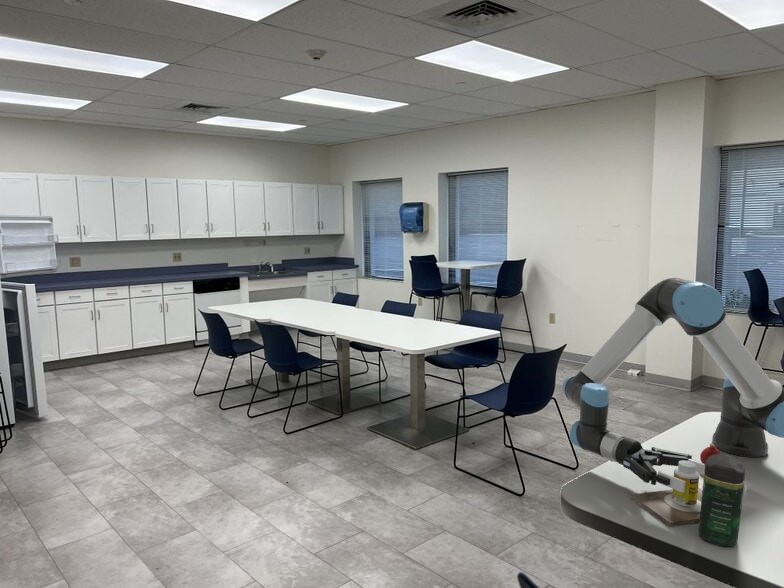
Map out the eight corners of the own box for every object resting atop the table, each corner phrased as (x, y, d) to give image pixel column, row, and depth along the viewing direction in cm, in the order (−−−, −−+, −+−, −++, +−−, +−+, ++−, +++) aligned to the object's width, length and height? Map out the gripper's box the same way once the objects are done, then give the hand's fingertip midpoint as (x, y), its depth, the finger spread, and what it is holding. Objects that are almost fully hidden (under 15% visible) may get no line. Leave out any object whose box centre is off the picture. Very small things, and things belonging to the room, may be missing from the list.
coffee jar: (737, 552, 123) (745, 471, 121) (696, 540, 128) (703, 462, 125) (739, 532, 132) (747, 455, 129) (700, 521, 136) (707, 447, 133)
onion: (721, 468, 165) (723, 442, 164) (723, 476, 160) (725, 449, 159) (698, 464, 167) (700, 438, 166) (699, 472, 162) (702, 446, 161)
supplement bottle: (689, 510, 139) (692, 470, 137) (667, 500, 143) (670, 462, 142) (701, 504, 142) (704, 465, 140) (679, 494, 146) (682, 457, 145)
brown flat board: (696, 490, 152) (696, 485, 152) (739, 516, 138) (740, 512, 138) (631, 498, 147) (631, 493, 147) (669, 526, 133) (669, 521, 133)
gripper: (647, 453, 164) (724, 481, 146) (592, 474, 150) (669, 508, 132) (649, 428, 163) (726, 454, 145) (594, 446, 149) (672, 478, 131)
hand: (699, 480), depth 139 cm, fingers open, 13 cm apart
